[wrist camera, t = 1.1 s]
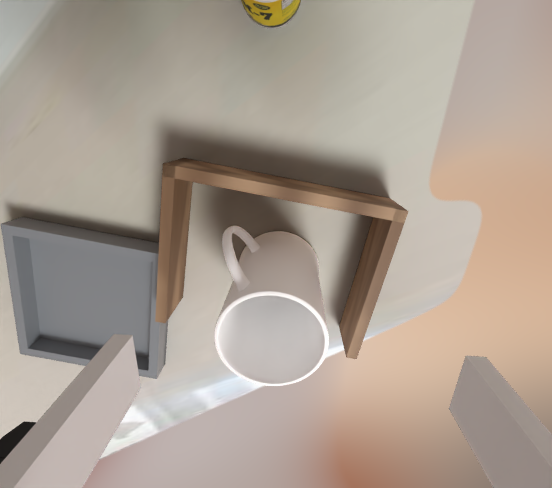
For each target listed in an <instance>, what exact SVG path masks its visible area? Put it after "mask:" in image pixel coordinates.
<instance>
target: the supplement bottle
mask: <svg viewBox="0 0 552 488" xmlns="http://www.w3.org/2000/svg"><path fill="white" fill-rule="evenodd" d="M241 1H242V3H243V6H244V8H245V10H246V12H247V14H248V16H249V17H250V18H251V19H252V20H253V21H254V22H255V23H256V24H258V25H260V26H262V27H264V28H269V29H275V28H279V27H282V26H284V25H285V24H287V23H288V22H289V21H290V20H291V19H292V18H293V17H294V16H295V14H296V12H297V10H298V8H299V5H300V2H301V0H241Z"/></svg>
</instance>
